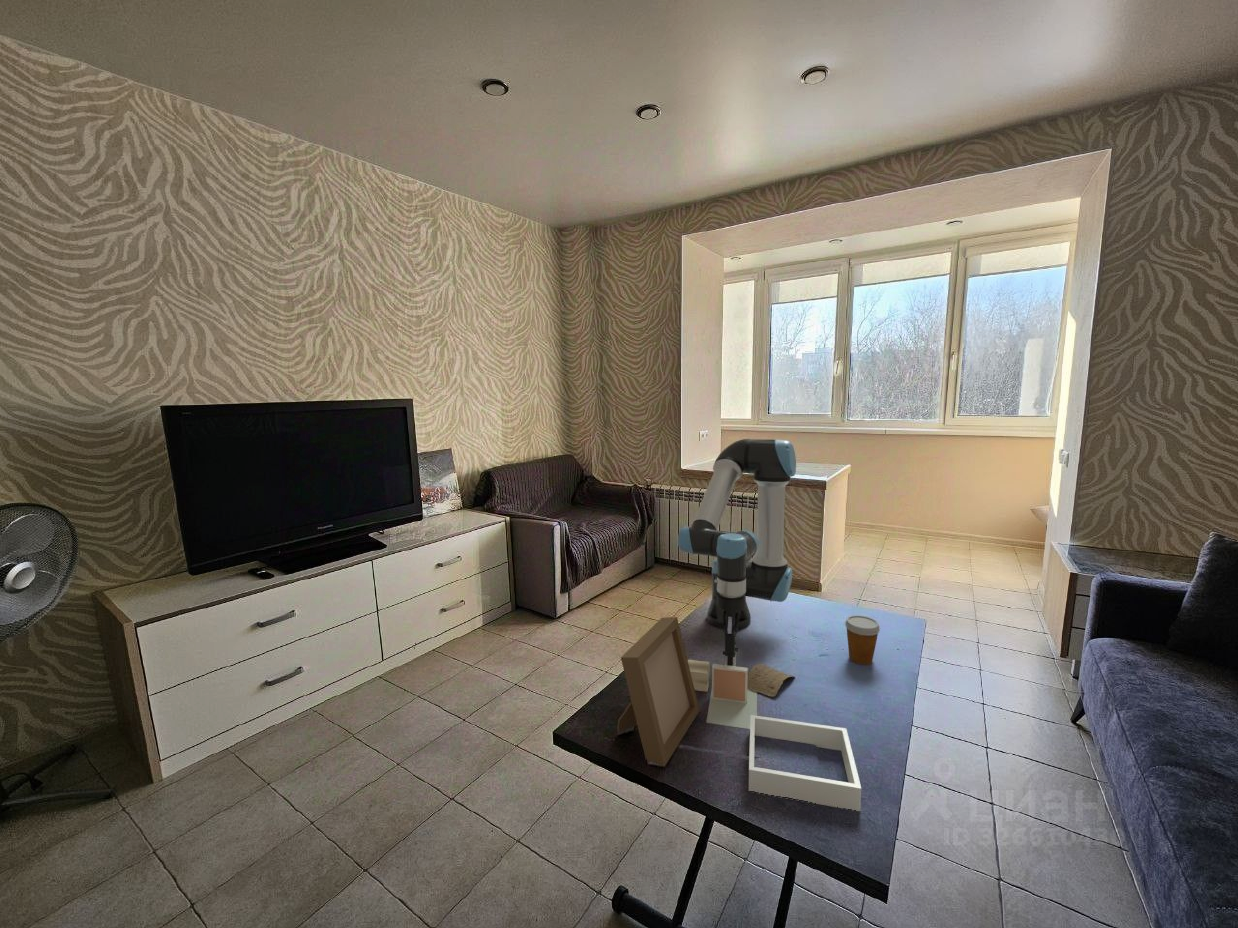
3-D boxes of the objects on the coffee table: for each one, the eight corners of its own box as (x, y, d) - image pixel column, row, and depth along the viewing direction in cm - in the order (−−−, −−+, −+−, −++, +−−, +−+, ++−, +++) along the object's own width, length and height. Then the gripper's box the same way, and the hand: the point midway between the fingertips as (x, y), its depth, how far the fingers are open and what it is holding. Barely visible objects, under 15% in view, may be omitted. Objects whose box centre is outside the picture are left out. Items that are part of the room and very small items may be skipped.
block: (688, 678, 145) (688, 659, 144) (709, 681, 143) (709, 661, 142) (685, 691, 139) (685, 670, 138) (707, 693, 138) (707, 673, 137)
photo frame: (699, 714, 129) (698, 621, 125) (664, 770, 110) (661, 663, 107) (647, 698, 136) (644, 610, 133) (605, 749, 117) (601, 648, 114)
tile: (712, 694, 136) (712, 663, 135) (747, 699, 134) (747, 667, 132) (712, 698, 134) (712, 667, 133) (747, 703, 132) (747, 671, 131)
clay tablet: (775, 699, 133) (775, 689, 133) (740, 685, 140) (740, 675, 139) (797, 678, 144) (797, 669, 144) (763, 666, 150) (764, 657, 150)
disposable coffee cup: (870, 671, 146) (872, 632, 144) (837, 658, 153) (839, 621, 152) (883, 659, 152) (885, 621, 151) (852, 647, 159) (853, 611, 158)
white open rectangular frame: (750, 733, 121) (750, 714, 120) (845, 748, 116) (846, 728, 115) (748, 791, 104) (748, 769, 103) (860, 811, 98) (861, 788, 98)
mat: (712, 683, 142) (712, 681, 142) (757, 689, 139) (757, 687, 139) (706, 724, 125) (706, 722, 125) (756, 732, 122) (756, 729, 122)
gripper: (718, 582, 142) (718, 661, 145) (714, 601, 129) (714, 687, 132) (746, 584, 140) (745, 664, 143) (744, 603, 127) (743, 691, 130)
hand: (730, 675), depth 138 cm, fingers closed
